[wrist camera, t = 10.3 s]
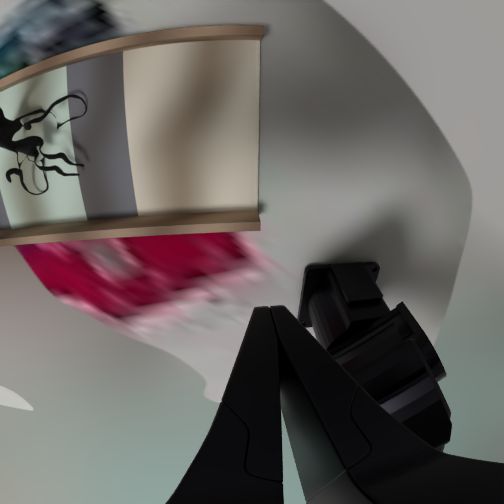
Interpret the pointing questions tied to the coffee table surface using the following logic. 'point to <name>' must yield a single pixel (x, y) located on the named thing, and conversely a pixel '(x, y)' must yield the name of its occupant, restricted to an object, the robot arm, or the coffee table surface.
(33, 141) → the creature
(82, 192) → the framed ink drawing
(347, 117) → the coffee table surface
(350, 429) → the robot arm
